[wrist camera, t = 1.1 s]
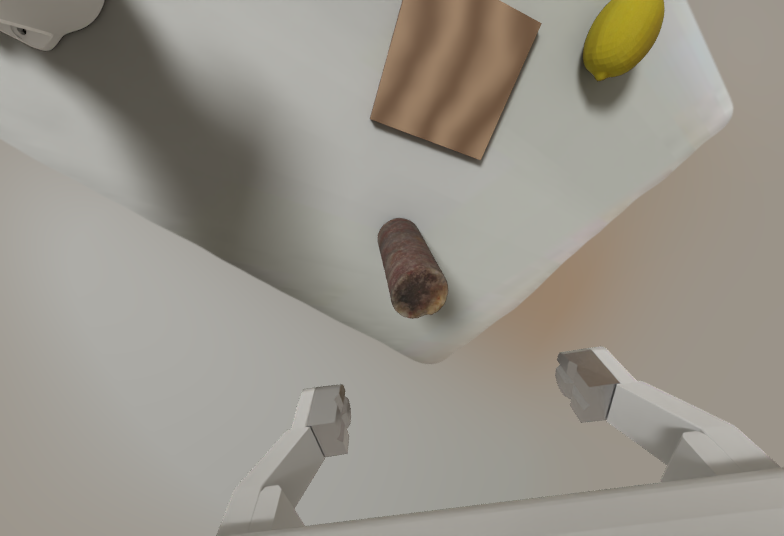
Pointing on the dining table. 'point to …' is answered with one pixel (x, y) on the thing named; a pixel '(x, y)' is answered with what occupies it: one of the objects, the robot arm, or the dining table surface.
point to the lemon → (622, 36)
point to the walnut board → (452, 70)
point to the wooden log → (411, 270)
